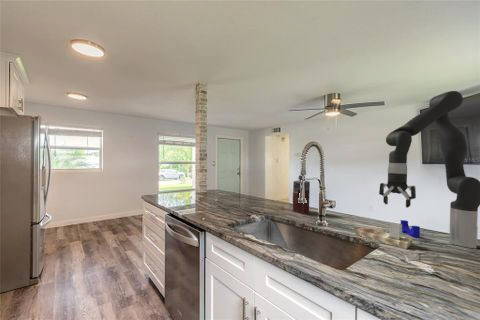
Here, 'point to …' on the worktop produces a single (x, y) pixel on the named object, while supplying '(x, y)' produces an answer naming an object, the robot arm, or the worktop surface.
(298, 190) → the dark red bottle
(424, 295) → the worktop surface
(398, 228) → the steel peg
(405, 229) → the cable clip
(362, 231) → the birch rail
